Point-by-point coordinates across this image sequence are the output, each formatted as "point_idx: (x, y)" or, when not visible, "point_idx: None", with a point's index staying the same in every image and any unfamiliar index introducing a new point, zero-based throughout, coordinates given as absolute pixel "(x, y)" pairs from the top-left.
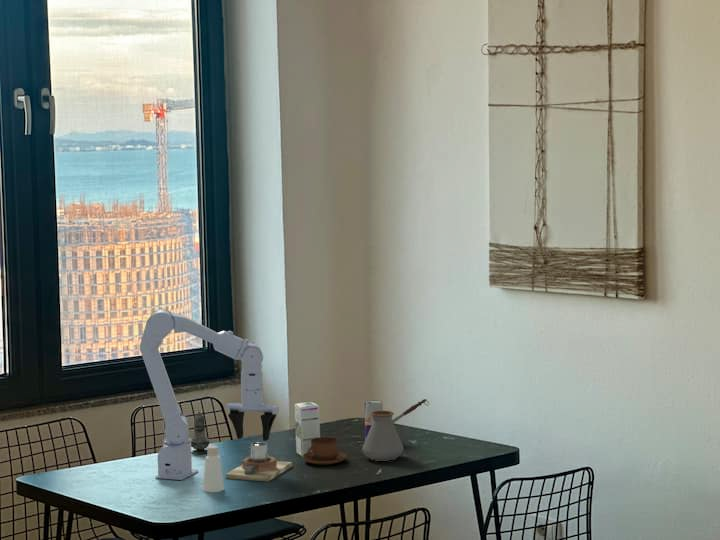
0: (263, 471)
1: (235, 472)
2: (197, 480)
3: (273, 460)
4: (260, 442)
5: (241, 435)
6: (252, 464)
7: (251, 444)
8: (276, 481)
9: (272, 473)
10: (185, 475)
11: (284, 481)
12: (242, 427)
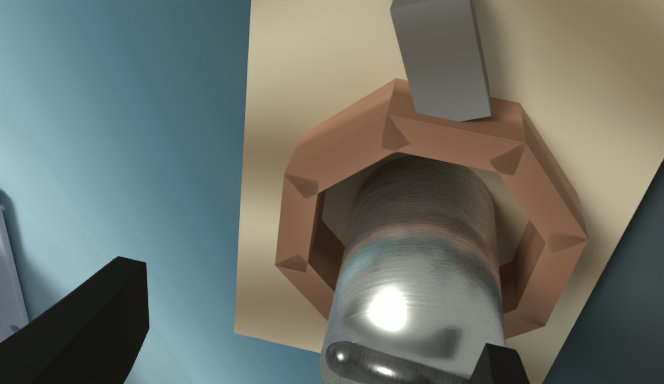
0: None
1: (283, 310)
2: None
3: (561, 277)
4: (408, 313)
5: (134, 314)
6: None
7: (331, 380)
8: (587, 376)
9: (556, 342)
10: (7, 303)
11: (645, 379)
12: (70, 353)
